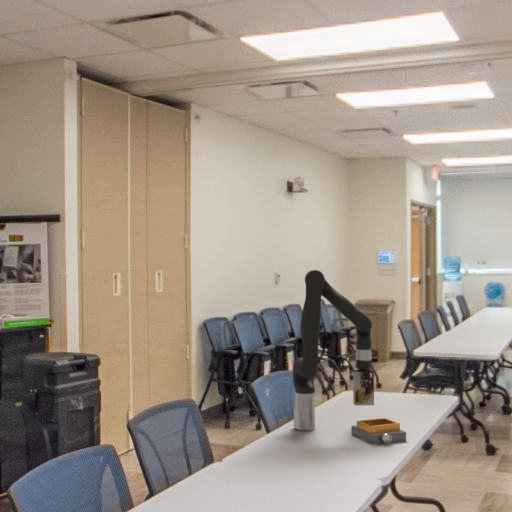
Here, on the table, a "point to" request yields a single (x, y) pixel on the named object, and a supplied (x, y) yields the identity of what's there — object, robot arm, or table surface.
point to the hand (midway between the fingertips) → (363, 393)
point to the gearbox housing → (379, 431)
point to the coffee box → (362, 389)
